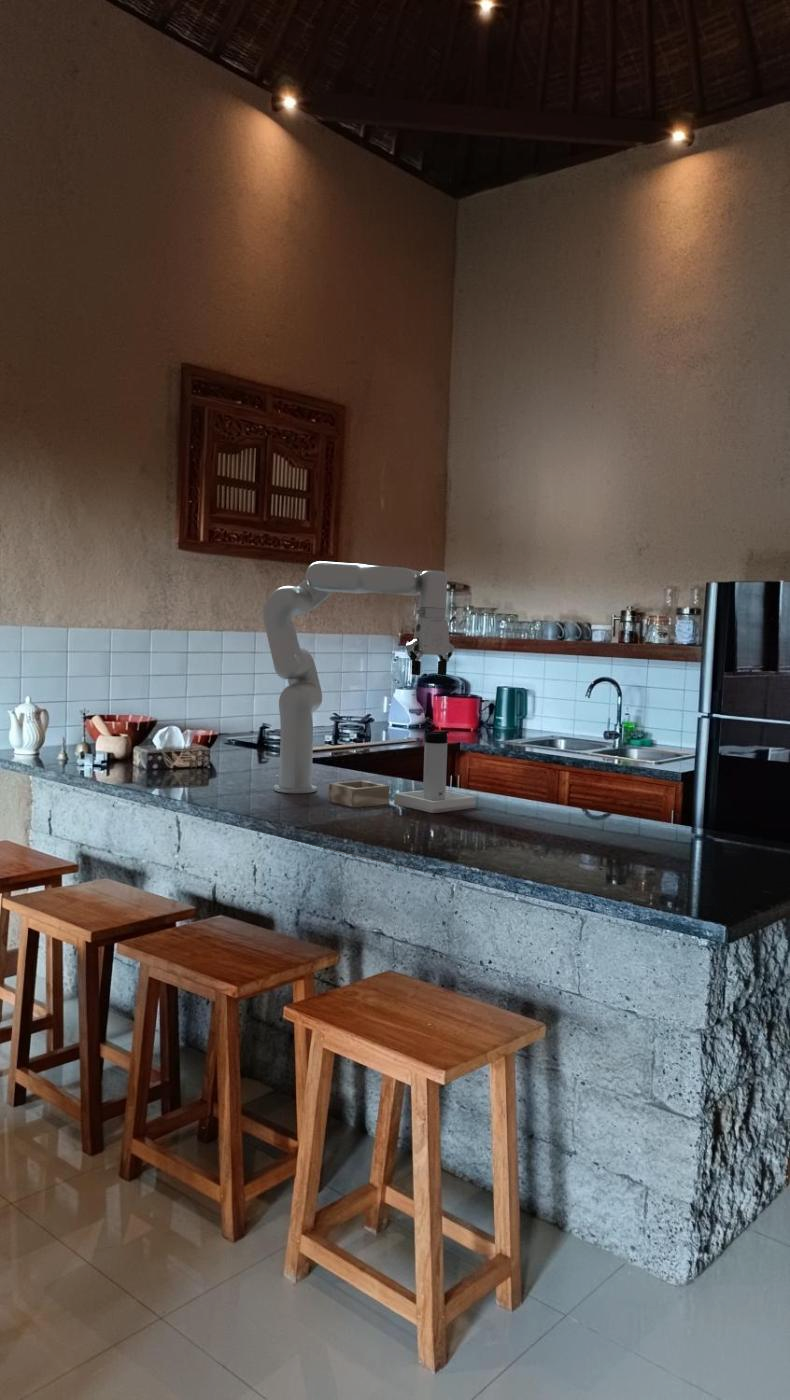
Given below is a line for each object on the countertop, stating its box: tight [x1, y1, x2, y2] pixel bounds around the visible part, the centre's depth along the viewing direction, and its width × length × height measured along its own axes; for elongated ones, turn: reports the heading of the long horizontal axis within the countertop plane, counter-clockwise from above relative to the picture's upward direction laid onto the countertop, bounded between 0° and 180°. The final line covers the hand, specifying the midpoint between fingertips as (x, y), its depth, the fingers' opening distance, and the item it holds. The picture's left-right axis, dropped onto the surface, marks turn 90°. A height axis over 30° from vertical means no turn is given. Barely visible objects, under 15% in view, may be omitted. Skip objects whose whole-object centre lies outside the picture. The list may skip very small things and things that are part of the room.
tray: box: [393, 789, 477, 814], centre depth 282 cm, size 16×16×3 cm
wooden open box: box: [328, 779, 390, 808], centre depth 284 cm, size 12×12×5 cm
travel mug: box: [422, 730, 450, 801], centre depth 282 cm, size 6×7×20 cm
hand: (428, 675), depth 289 cm, fingers open, 9 cm apart
